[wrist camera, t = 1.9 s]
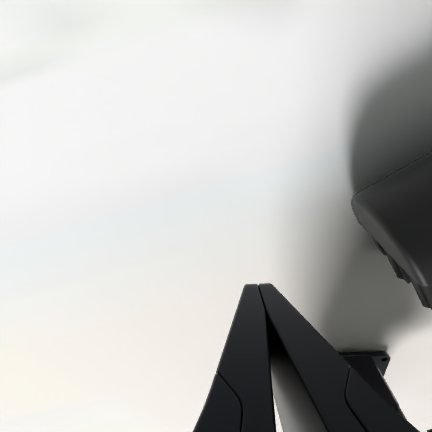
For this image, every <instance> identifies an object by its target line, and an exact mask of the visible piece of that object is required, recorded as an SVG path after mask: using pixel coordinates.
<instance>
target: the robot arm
mask: <svg viewBox="0 0 432 432" xmlns="http://www.w3.org/2000/svg"><path fill="white" fill-rule="evenodd" d="M389 361H390V357H389V355H388V353H387V352H365V353H343V354H339V353H338V352H337V351H336V350H335V349H334V348H333V347H332V346H331V345H330V344H329V343H328V342H327V341H326V340H325V339H324V338H323V337H322V336H321V335H320V334H319V333H318V332H317V331H316V329H315V328H314V327H313V326H312V325H311V324H310V323H309V322H308V321H307V320H306V319H305V318H304V317H303V316H302V315H301V314H300V313H299V312H298V311H297V310H296V309H295V308H294V307H293V306H292V305H291V304H290V302H289V301H288V300H287V299H286V298H285V297H284V296H283V295H282V294H281V293H280V292H279V291H278V290H277V289H276V288H275V287H274V286H273V285H272V284H270V283H265V284H259V285H257V284H246V285H245V286H244V288H243V291H242V294H241V297H240V300H239V304H238V307H237V310H236V313H235V316H234V319H233V322H232V325H231V328H230V331H229V334H228V337H227V340H226V343H225V346H224V349H223V353H222V356H221V359H220V362H219V365H218V368H217V371H216V374H215V376H214V379H213V383H212V386H211V388H210V391H209V394H208V397H207V399H206V402H205V405H204V407H203V410H202V412H201V414H200V417H199V419H198V421H197V423H196V426H195V428H194V430H193V432H276V424H275V412H274V400H273V394H274V398H275V402H276V406H277V410H278V414H279V418H280V421H281V425H282V429H283V432H420V431H418V430H417V429H416V428H415V427H414V426H413V425H412V424H410V423H409V422H408V421H407V419H406V418H405V416H404V414H403V412H402V411H401V409H400V407H399V404H398V402H397V400H396V399H395V397H394V395H393V393H392V391H391V390H390V388H389V386H388V384H387V383H386V381H385V379H384V377H383V376H384V374H385V371H386V369H387V366H388V364H389ZM427 432H432V429H430V430H427Z"/></svg>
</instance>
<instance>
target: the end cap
mask: <svg viewBox="0 0 432 432" xmlns="http://www.w3.org/2000/svg"><path fill="white" fill-rule="evenodd" d="M351 206H352V209H353V212H354V214H355V216H356V218H357V220H358V222H359V223H360V224H361V225H362V226H363V227H364V228H365V229H366V230H367V231H368V233H369V234H370V235H371V236H372V237H373V239H374V241H375V243H376V245H377V247H378V249H379V250H380V251H381V252H382V253H383V254H384V255H385V256H387V257H388V259H389V261H390V263H391V265H392V267H393V269H394V271H395V273H396V275H397V277H398V278H400V279H404V280H405V281H406V282H407V283H410V282H412V284H413V286H414V288H415V290H416V292H417V294H418V296H419V298H420V301H421V303H422V305H423V306H424V307H427V308H431V309H432V152H430V153H429V154H427V155H425V156H423V157H421V158H420V159H418V160H416V161H414V162H412V163H411V164H409V165H407V166H405V167H404V168H402V169H400V170H398V171H396V172H395V173H393V174H391V175H389V176H387V177H386V178H384V179H382V180H380V181H379V182H377V183H375V184H373V185H371V186H370V187H368V188H366V189H364V190H362V191H361V192H359V193H357V194H355V195H354V196H353V198H352V199H351Z"/></svg>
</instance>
